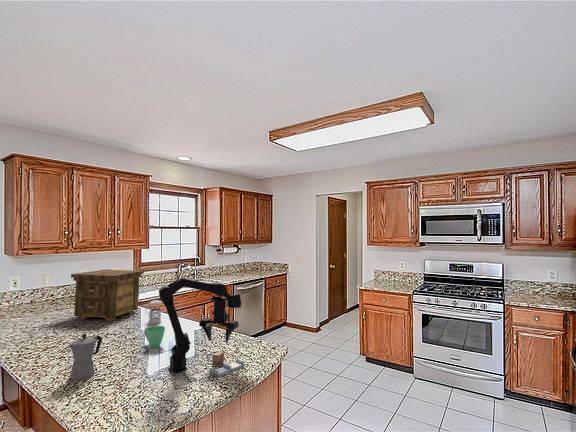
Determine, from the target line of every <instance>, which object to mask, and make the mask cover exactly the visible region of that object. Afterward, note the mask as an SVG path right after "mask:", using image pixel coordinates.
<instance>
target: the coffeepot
mask: <svg viewBox="0 0 576 432" xmlns="http://www.w3.org/2000/svg"><path fill="white" fill-rule="evenodd" d="M102 341H103V338H102V337H101V336H100V335H94V336H92V337H87V333H84V334H82V338H80V339H79V338H78V339H75V340H74V341H72V342H71V344H70V345H69V346H68V348H70V349H71V352H72V358H73V363H72V367H71V371H70V373H69V374H70V375H69V379H70V380H71V381H83V380H87V379H89V378H92V377H93V376H94V375H95V367H94V366H95V365H94V359H93V356H96V355H98V353H99V350H100V348H101V344H102Z"/></svg>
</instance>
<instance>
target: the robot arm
mask: <svg viewBox="0 0 576 432" xmlns="http://www.w3.org/2000/svg"><path fill="white" fill-rule="evenodd" d="M183 288H187V289H194V290H199V291H205V292H208V293H210V294H213V295H211V297H209V300H210V301H211V302H213V311H212V312H211V314H212V318H208V317H206V318H203V319H201V320H200V321H199V324H198V325H199V327H201V329H202V330H203V331H204V333H205V335H206V337H207V338H208V341H209V342H211V340H212V328H213V326H218V327H220V326H221V327H225V328H226V329H225V343H226V344H227V343H228V342H229V340H230V338H231V335H232V332H233V331H234V330H236V329H238V328H239V321H238V320H231V316H232V315H231V314H229V313H227V312H228V310H226V307H227V308H228V309H240V308H241V306H242V300H241V294H239V293H236V294H230V293H229V292H228V288H227V286H226V285H225V284H224V283H222V282H206V281H199V280H195V279H190V278H185V277H179V278H178V279H176V280H175V281H173V282H171V283H169V284H167V285H163V286H161V287H160V288H159V289H158V296H159V298H160V300H161V303H162V304H163V305H164V306H165V308H166V311H167V314H168V315H167V316H168V318H169V321H170V324H171V327H172V330H173V334H174V340H175V342H174V344H175V345H173V346H172V348H171V349H170V353H171V356H169V367H168V368H167V370H169V371H170V372H172V373H174V374H177V373H179V372H183V371H186V370H188V367H187V357H186V356H187V355H186V354H187V353H188V352H189V350H190V349H191V341H190V339H189V335H188V333H187V332H185V333H184V331H183V328H182V325H181V323H180V319H179V317H178V313H177V309H176V307H175V302H174V294H176V293H177V292H179V290H181V289H183ZM185 369H186V370H185Z"/></svg>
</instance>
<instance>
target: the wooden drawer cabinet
mask: <svg viewBox="0 0 576 432" xmlns="http://www.w3.org/2000/svg"><path fill="white" fill-rule="evenodd" d="M143 274H145V271H144V270H131V269H130V270H129V269H127V270H126V269H124V270H123V269H100V270H92V271H85V272H77V273H71V275H70V278H72V279H73V281H74V282H75V293H74V295H75V296H74V311H73V312H74V314H73V316H74V317H79V320H87V319H89V318H104V319H105V321H108V322H111V321H114V320H116V317H117V316H121V315H124V314H125V315H130V314H133V313H134V311H137V310H139V295H140V294H139V290H140V289H139V288H140V278H141V277H142V275H143Z"/></svg>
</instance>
